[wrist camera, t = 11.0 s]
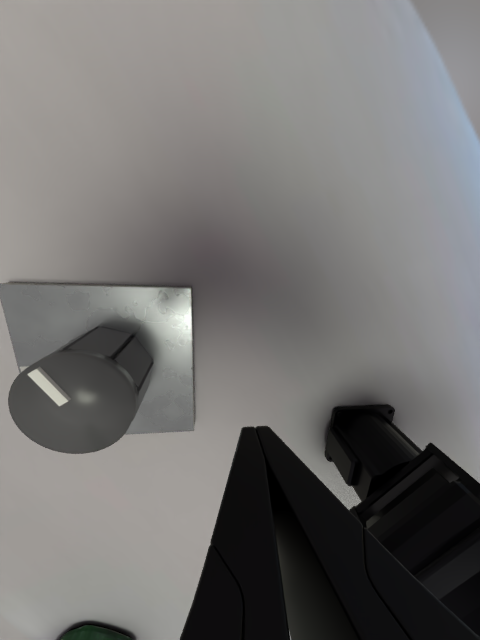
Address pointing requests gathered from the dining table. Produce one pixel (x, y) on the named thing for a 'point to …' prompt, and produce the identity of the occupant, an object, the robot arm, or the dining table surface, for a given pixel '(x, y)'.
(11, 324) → the mounting plate
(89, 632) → the coffee jar
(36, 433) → the knob
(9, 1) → the dining table surface
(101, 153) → the dining table surface
